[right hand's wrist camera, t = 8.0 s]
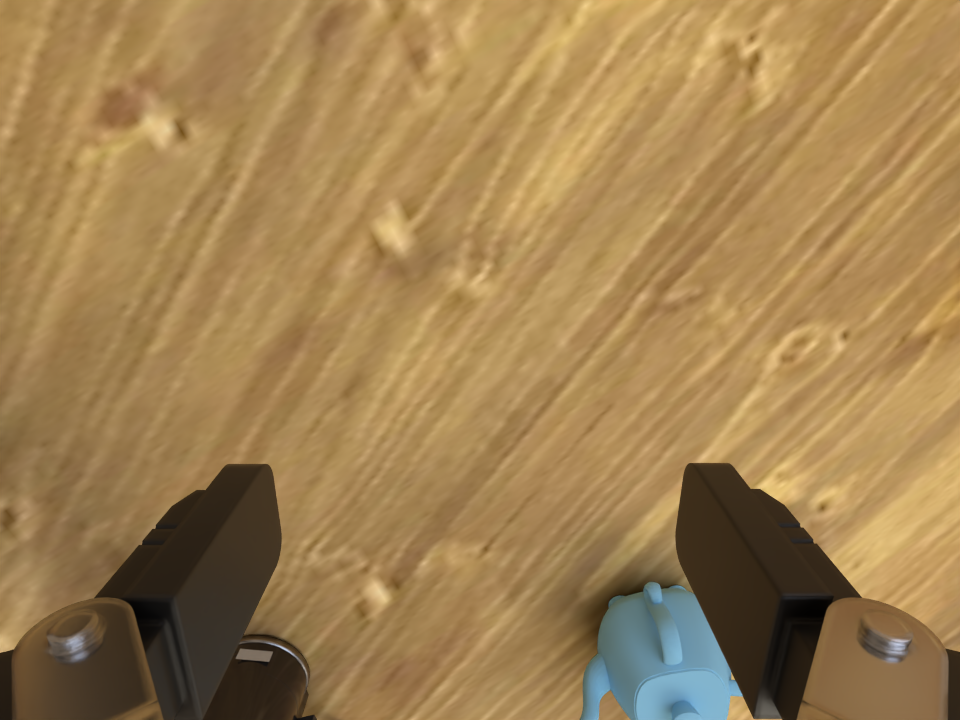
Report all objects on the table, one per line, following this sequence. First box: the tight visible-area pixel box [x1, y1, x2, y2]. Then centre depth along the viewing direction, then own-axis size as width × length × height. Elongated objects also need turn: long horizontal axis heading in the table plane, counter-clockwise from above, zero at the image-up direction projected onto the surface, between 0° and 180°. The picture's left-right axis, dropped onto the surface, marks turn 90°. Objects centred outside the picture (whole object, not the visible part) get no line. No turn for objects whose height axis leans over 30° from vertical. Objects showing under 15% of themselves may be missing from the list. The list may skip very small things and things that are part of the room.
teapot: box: [580, 582, 743, 720], centre depth 52 cm, size 13×14×11 cm
